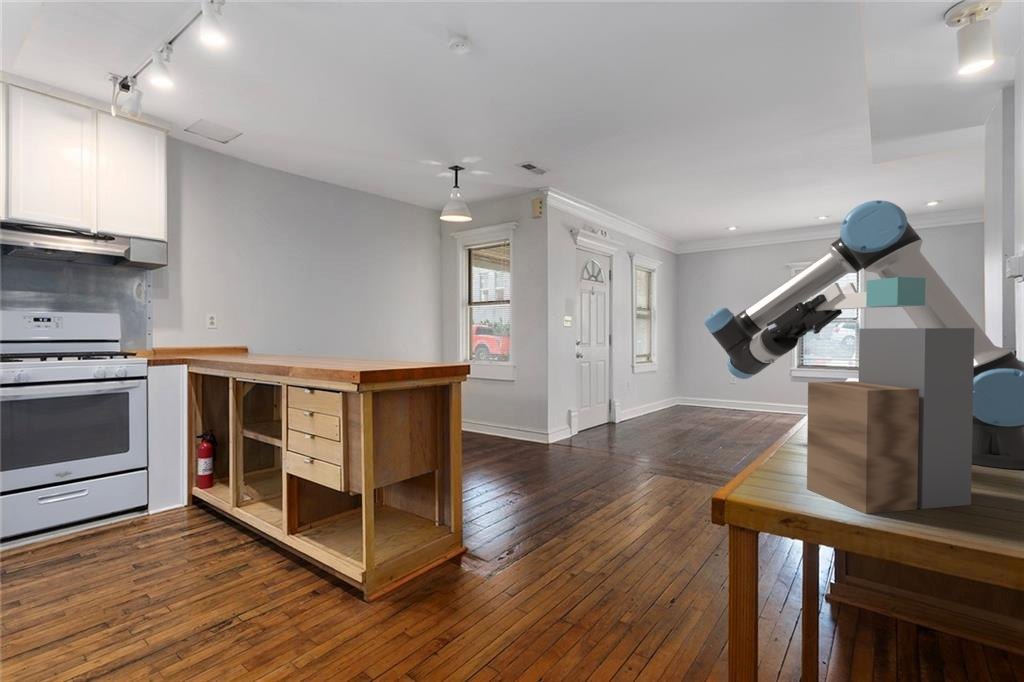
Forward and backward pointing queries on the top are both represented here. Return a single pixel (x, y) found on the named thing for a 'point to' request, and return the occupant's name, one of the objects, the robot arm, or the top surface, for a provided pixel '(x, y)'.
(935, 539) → the top surface
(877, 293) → the bar
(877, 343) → the tower
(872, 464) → the tall wooden pillar
